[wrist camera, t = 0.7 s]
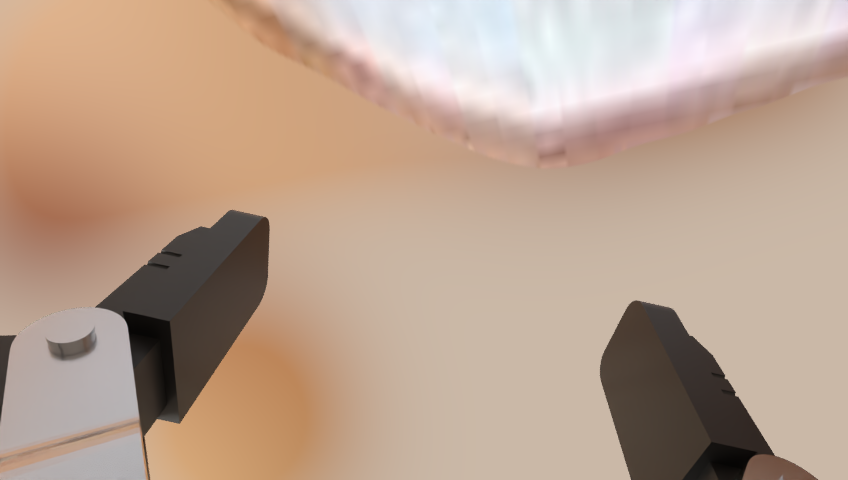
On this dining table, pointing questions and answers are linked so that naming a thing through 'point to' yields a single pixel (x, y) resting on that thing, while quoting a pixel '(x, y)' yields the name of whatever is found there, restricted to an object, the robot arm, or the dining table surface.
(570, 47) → the dining table surface
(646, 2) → the dining table surface
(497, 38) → the dining table surface
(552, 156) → the dining table surface
